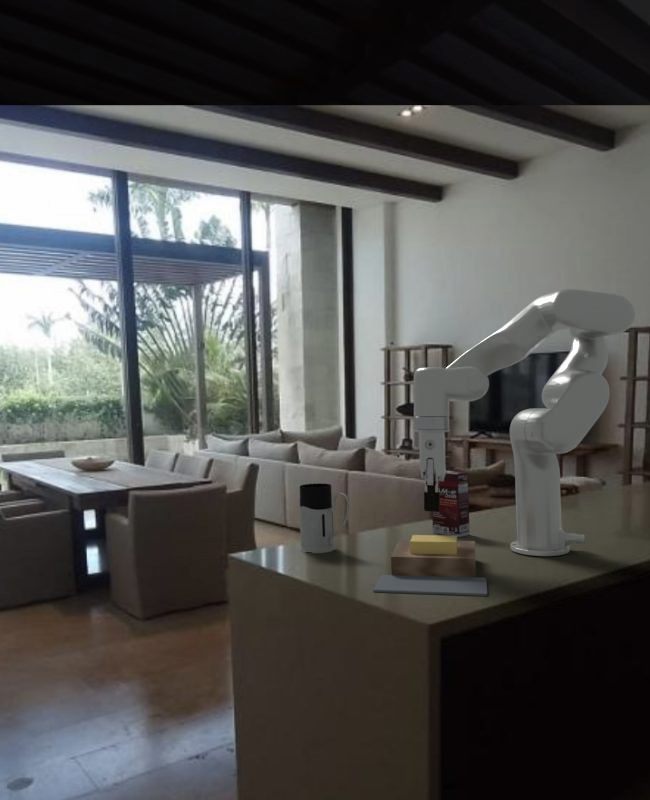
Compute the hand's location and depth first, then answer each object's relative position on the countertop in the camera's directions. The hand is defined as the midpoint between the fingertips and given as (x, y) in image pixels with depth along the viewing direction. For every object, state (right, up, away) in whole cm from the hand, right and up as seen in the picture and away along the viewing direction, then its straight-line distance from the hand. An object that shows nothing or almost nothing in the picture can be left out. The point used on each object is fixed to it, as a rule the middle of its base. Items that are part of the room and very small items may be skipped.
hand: (431, 510), depth 137 cm
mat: (-3, -11, -18) cm, 21 cm away
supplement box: (+9, -11, +26) cm, 30 cm away
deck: (0, -11, -6) cm, 12 cm away
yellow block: (-1, -7, -8) cm, 10 cm away
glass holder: (-23, -12, +13) cm, 29 cm away
